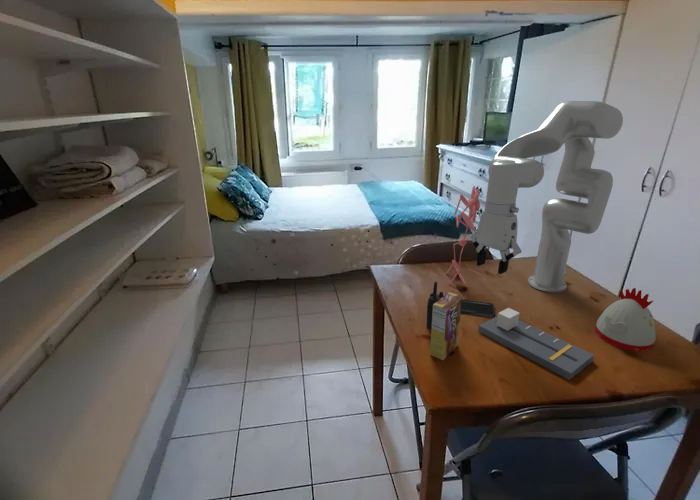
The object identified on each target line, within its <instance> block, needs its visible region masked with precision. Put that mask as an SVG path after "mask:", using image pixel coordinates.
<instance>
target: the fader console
mask: <svg viewBox="0 0 700 500" xmlns="http://www.w3.org/2000/svg"><path fill="white" fill-rule="evenodd" d="M497 318H498V315H495V316H494V317H492V318H491V319H489V320H486V321H485V322H483V323H481V324H479V325H478V330H477V331H478V333H480V334H481V335H482V334H483V335H484V336H487V338H490V339H492V340H494V341H495V342H497V343H499V344H501V345H503V346H505V347H507V348H509V349H510V350H513V351H514V352H516V353H518V354H519V355H522V356H523V357H525V358H527V359H529V360H531V361H532V362H535V363H537V364H538V365H540V366H543V367H545V368H546V369H548V370H550V371H552V372H554V373H556V374H557V375H559V376H561V377H563V378H564V379H567V380H569V381H570V380H572V379H573V378H574V377H575V376H576V375H578V374H579V373H581V371H582V370H584V368H587V366H589V365H590V364H591V363H592V362H593V361H594V357H595V354H594V353H592V352H590V351H587V350H585V349H583V348H581V347H578V346H576V345H574V344H573V343H570V342H568V341H565V340H563V339H561V338H559V337H557V336H555V335H552V334H550V333H548V332H546V331H544V330H541V329H540V328H537V327H535V326H533V325H532V324H529V323H527V322H525V321H522V320H520V319H519V321H518V325H517V326H515V327H513V328H512V329H510V330H508V331H507V330H505V329H503V328H501V327H499V326H497V325H496V324H497Z"/></svg>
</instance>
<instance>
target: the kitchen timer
mask: <svg viewBox="0 0 700 500" xmlns="http://www.w3.org/2000/svg"><path fill="white" fill-rule="evenodd" d="M649 294H650V293H646V294H644V296H643V297H642V289H640V290H638V291H637V289H636V287H634V288H632V289H631V291H630V289H629V288H627V289H625V294H624V291H623V290H619V297H620V299H618V300H616V301H614V302H613V303H611V304H610V305H608V307H606V308H605V310H603V312H602V313H601V315H599V317H598V318H597V321H596V324H595V328H594V331H595V333H596V335H597V337H599V338H600V339H601V340H603V341H604V342H606V343H608V344H610V345H613V346H615V347H617V348H621V349H623V350H627V349H628V351H632V350H639V351H638V352H642V351H641V350H647V349H649V350H651V349H652V348H653V347H654V346H655V342H656V338H657V337H656V336H657V335H656V325H655V324H656V323H655V319H654V316H653V313H652V311H651V310H650V309H649V306H650V305H651V304H652V303H654V300H650V301H648V298H649ZM653 345H654V346H653ZM652 346H653V347H652ZM651 347H652V348H651ZM650 348H651V349H650ZM647 351H648V350H647Z"/></svg>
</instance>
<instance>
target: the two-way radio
mask: <svg viewBox="0 0 700 500" xmlns="http://www.w3.org/2000/svg"><path fill="white" fill-rule="evenodd" d="M443 296H444V292H443V291H439V294H438V281H434V283H433V291H432V293H430V294H429V297H428V300H427V305H426V306H427V307H426V328H427V329H430V330H431V328H432V312H433V304H435V303H436V302H437V301H438V300H440V299H441V298H442V297H443Z"/></svg>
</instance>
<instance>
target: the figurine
mask: <svg viewBox="0 0 700 500" xmlns="http://www.w3.org/2000/svg"><path fill="white" fill-rule="evenodd" d="M471 189H472V190H471V193H470V198H469V199H467V198H466V197H465V196H464V195H463V194H460V196H459V199H458V202H457V205H456V208H455V211H454V217H455V220H456V228H457V229H458V228H459V225H460V223H461V224H462V225H464V226H465V227H466V228H465V229H466V230H465V234H464V237H463V238H461V239H459V241H458V242H455V243H453V256H454V257H453V258H454V259H452V260H451V265H450V266H449V268H448V270H447V271H446V272H445V275H448V273H449V272H450V270H451V269H452V268H453V267H454V268H455V270H456V273H455V274H454V276H453V277H452V279H451V280H450V281H449V282H448V285H451V284H452V283H453V281H454V280H455V278H456V277H457V276H458V277H459V278H460V281H461V282H462V284H463V285H464V286H465V287H466V288H467V287H468V285H467V283H466V280H465V279H464V276H463V275H462V274H461V259H462V253H463V251H464V247H465V246H466V245H467V239H466V237H467V233H468V230H469V229H470V230H471V231H473V232H474V233H476V232H477V230H476V228H475V222H476V219H477V211H479V210H480V208H481V204H480V201H479V196H480V195H479V194H480V188H479V187H478V188H477V189H476V186H475V185H473V187H472V188H471ZM461 202H462V203H463V204H464V206H465V208H464V209H463V211H461V212H460V214H459V216H457V212H458V209H459V206H460V204H461ZM467 209H469V211H468V215H467V214H466V213H465V211H467ZM462 220H463V221H462ZM456 245H459V246H461V247H462V248H461V251H460V253H459V263H457V261H456V251H455V250H456V249H455V248H456ZM468 270H469V271H473V272H474V273H476V274H478V275H480V276H481V277H482V278H483V280H485V281H488V279H487V278H485V277H484V276H482V275H481V273H480V272H477V271H474V270H472V269H469V268H468ZM485 286H487V284H486V285H485ZM453 292H455V291H453V290H451V293H453Z"/></svg>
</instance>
